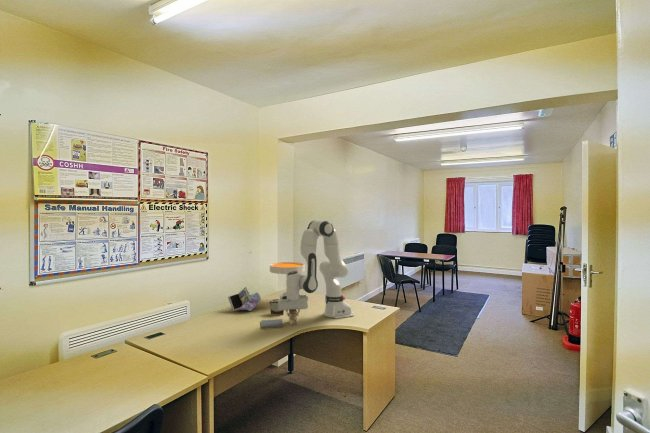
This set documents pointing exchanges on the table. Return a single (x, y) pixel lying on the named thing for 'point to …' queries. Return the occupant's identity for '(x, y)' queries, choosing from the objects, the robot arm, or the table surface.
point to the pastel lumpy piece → (244, 300)
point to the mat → (271, 323)
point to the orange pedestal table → (286, 267)
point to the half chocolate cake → (275, 307)
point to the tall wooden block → (293, 317)
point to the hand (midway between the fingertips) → (292, 315)
